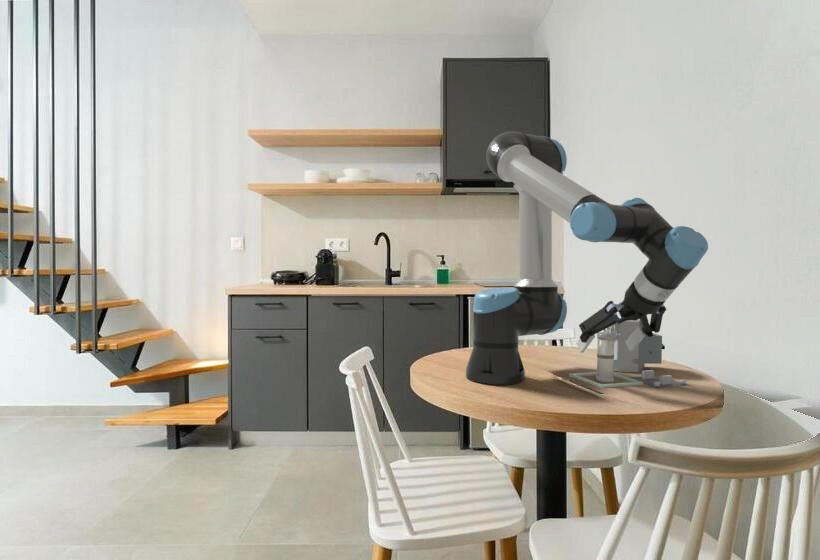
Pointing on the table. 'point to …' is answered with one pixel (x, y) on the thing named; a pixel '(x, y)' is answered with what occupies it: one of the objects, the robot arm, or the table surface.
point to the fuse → (605, 357)
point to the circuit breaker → (642, 354)
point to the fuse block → (658, 380)
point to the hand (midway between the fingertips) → (604, 347)
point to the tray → (577, 376)
